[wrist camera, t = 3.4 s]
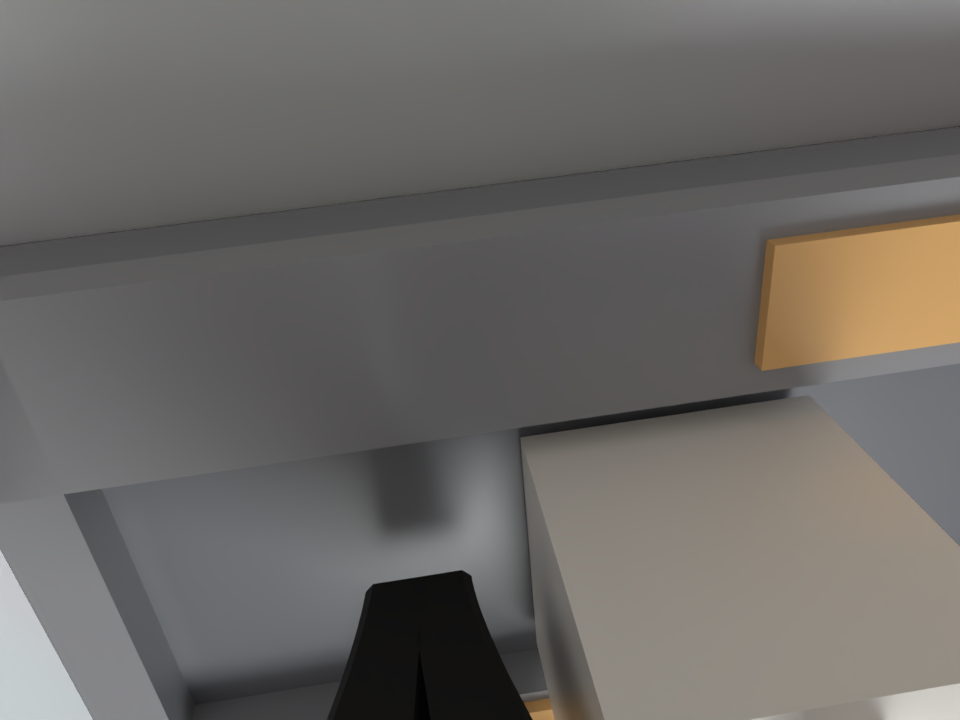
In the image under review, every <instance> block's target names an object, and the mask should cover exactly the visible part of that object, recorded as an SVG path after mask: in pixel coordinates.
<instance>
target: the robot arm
mask: <svg viewBox="0 0 960 720" xmlns="http://www.w3.org/2000/svg"><path fill="white" fill-rule="evenodd" d="M327 720H533V719H532V717H531V716H530V714H529V712H528V710H527V708H526V706H525V704H524V702H523V700H522V699H521V697H520V695H519V693H518V691H517V689H516V687H515V685H514V683H513V682H512V680H511V678H510V676H509V674H508V672H507V670H506V668H505V665H504V663H503V661H502V659H501V657H500V655H499V653H498V650H497V648H496V646H495V644H494V641H493V639H492V637H491V634H490V632H489V630H488V627H487V625H486V622H485V620H484V617H483V614H482V612H481V609H480V606H479V603H478V600H477V596H476V593H475V590H474V586H473V582H472V576H471V575H470V574H468V573H466V572H465V571H463V570H459V571H453V572H446V573H440V574H434V575H427V576H421V577H415V578H408V579H402V580H396V581H389V582H383V583H377V584H373V585H372V586H371V587H370V588H369V589H368V590H367V591H366V593H365V598H364V603H363V608H362V612H361V616H360V620H359V624H358V628H357V631H356V635H355V638H354V642H353V645H352V648H351V652H350V655H349V658H348V661H347V664H346V667H345V670H344V673H343V676H342V679H341V682H340V685H339V688H338V691H337V694H336V696H335V699H334V702H333V704H332V707H331V710H330V712H329V715H328V718H327Z"/></svg>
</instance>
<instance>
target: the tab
mask: <svg viewBox="0 0 960 720" xmlns="http://www.w3.org/2000/svg"><path fill="white" fill-rule="evenodd" d="M520 440H521V452H522V465H523V477H524V490H525V502H526V515H527V527H528V540H529V552H530V565H531V577H532V590H533V602H534V615H535V627H536V640H537V646H538V651H539V655H540V659H541V663H542V668H543V672H544V676H545V681H546V685H547V689H548V694H549V698H550V702H551V707H552V711H553V715H554V719H555V720H960V546H959V545H958V544H957V543H956V542H955V541H954V540H953V539H952V538H951V537H950V536H949V535H948V534H947V533H946V532H945V531H944V530H943V529H942V528H941V527H940V526H939V525H938V524H937V523H936V522H935V521H934V520H933V519H932V518H931V517H930V516H929V515H928V514H927V513H926V512H925V511H924V510H923V509H922V508H921V507H920V506H919V505H918V504H917V503H916V502H915V501H914V500H913V499H912V498H911V497H910V496H909V495H908V494H907V493H906V492H905V491H904V490H903V489H902V488H901V487H900V486H899V485H898V484H897V483H896V482H895V481H894V480H893V479H892V478H891V477H890V476H889V475H888V474H887V473H886V472H885V471H884V470H883V469H882V468H881V467H880V466H879V465H878V464H877V463H876V462H875V461H874V460H873V459H872V458H871V457H870V456H869V455H868V454H867V453H866V452H865V451H864V450H863V449H862V448H861V447H860V446H859V445H858V444H857V443H856V442H855V441H854V440H853V439H852V438H851V437H850V436H849V435H848V434H847V433H846V432H845V431H844V430H843V429H842V428H841V427H840V426H839V425H838V424H837V423H836V422H835V421H834V420H833V419H832V418H831V417H830V416H829V415H828V414H827V413H826V412H825V411H824V410H823V409H822V408H821V407H820V406H819V405H818V404H817V403H816V402H815V401H814V400H813V399H812V398H811V397H810V396H809V395H805V396H799V397H792V398H785V399H778V400H771V401H765V402H758V403H751V404H744V405H737V406H731V407H724V408H717V409H710V410H703V411H697V412H690V413H683V414H676V415H669V416H663V417H656V418H649V419H642V420H635V421H628V422H622V423H615V424H608V425H601V426H594V427H588V428H581V429H574V430H567V431H560V432H554V433H547V434H540V435H533V436H526V437H520Z"/></svg>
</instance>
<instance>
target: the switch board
mask: <svg viewBox="0 0 960 720" xmlns="http://www.w3.org/2000/svg"><path fill="white" fill-rule="evenodd" d="M805 395H809V396H810V397H811V398H812V399H813V400H814V401H815V402H816V403H817V404H818V405H819V406H820V407H821V408H822V409H823V410H824V411H825V412H826V413H827V414H828V415H829V416H830V417H831V418H832V419H833V420H834V421H835V422H836V423H837V424H838V425H839V426H840V427H841V428H842V429H843V430H844V431H845V432H846V433H847V434H848V435H849V436H850V437H851V438H852V439H853V440H854V441H855V442H856V443H857V444H858V445H859V446H860V447H861V448H862V449H863V450H864V451H865V452H866V453H867V454H868V455H869V456H870V457H871V458H872V459H873V460H874V461H875V462H876V463H877V464H878V465H879V466H880V467H881V468H882V469H883V470H884V471H885V472H886V473H887V474H888V475H889V476H890V477H891V478H892V479H893V480H894V481H895V482H896V483H897V484H898V485H899V486H900V487H901V488H902V489H903V490H904V491H905V492H906V493H907V494H908V495H909V496H910V497H911V498H912V499H913V500H914V501H915V502H916V503H917V504H918V505H919V506H920V507H921V508H922V509H923V510H924V511H925V512H926V513H927V514H928V515H929V516H930V517H931V518H932V519H933V520H934V521H935V522H936V523H937V524H938V525H939V526H940V527H941V528H942V529H943V530H944V531H945V532H946V533H947V534H948V535H949V536H950V537H951V538H952V539H953V540H954V541H955V542H956V543H957V544H958V545H959V546H960V127H952V128H944V129H936V130H928V131H920V132H912V133H904V134H896V135H888V136H880V137H872V138H864V139H856V140H848V141H840V142H832V143H824V144H816V145H808V146H800V147H792V148H784V149H776V150H769V151H761V152H753V153H745V154H737V155H729V156H721V157H713V158H705V159H697V160H689V161H681V162H673V163H665V164H657V165H649V166H641V167H633V168H625V169H617V170H609V171H601V172H593V173H585V174H577V175H569V176H561V177H553V178H545V179H537V180H529V181H521V182H513V183H505V184H497V185H489V186H481V187H473V188H465V189H457V190H449V191H441V192H433V193H425V194H417V195H409V196H401V197H393V198H385V199H377V200H369V201H361V202H354V203H346V204H338V205H330V206H322V207H314V208H306V209H298V210H290V211H282V212H274V213H266V214H258V215H250V216H242V217H234V218H226V219H218V220H210V221H202V222H194V223H186V224H178V225H170V226H162V227H154V228H146V229H138V230H130V231H122V232H114V233H106V234H98V235H90V236H82V237H74V238H66V239H58V240H50V241H42V242H34V243H26V244H18V245H10V246H2V247H0V550H1V552H2V553H3V555H4V557H5V559H6V561H7V563H8V564H9V566H10V568H11V570H12V572H13V574H14V575H15V577H16V579H17V581H18V583H19V585H20V586H21V588H22V590H23V592H24V594H25V596H26V597H27V599H28V601H29V603H30V605H31V607H32V608H33V610H34V612H35V614H36V616H37V618H38V619H39V621H40V623H41V625H42V627H43V629H44V630H45V632H46V634H47V636H48V638H49V640H50V641H51V643H52V645H53V647H54V649H55V651H56V652H57V654H58V656H59V658H60V660H61V662H62V663H63V665H64V667H65V669H66V671H67V672H68V674H69V676H70V678H71V680H72V682H73V683H74V685H75V687H76V689H77V691H78V693H79V694H80V696H81V698H82V700H83V702H84V704H85V705H86V707H87V709H88V711H89V713H90V715H91V716H92V718H93V720H327V718H328V715H329V712H330V710H331V707H332V704H333V702H334V699H335V696H336V694H337V691H338V688H339V685H340V682H341V679H342V676H343V673H344V670H345V667H346V664H347V661H348V658H349V655H350V652H351V648H352V645H353V642H354V638H355V635H356V631H357V628H358V624H359V620H360V616H361V612H362V608H363V603H364V598H365V593H366V591H367V590H368V589H369V588H370V587H371V586H372V585H373V584H377V583H383V582H389V581H396V580H402V579H408V578H415V577H421V576H427V575H434V574H440V573H446V572H453V571H459V570H463V571H465V572H466V573H468V574H470V575H471V576H472V582H473V586H474V590H475V593H476V596H477V600H478V603H479V606H480V609H481V612H482V614H483V617H484V620H485V622H486V625H487V627H488V630H489V632H490V634H491V637H492V639H493V641H494V644H495V646H496V648H497V650H498V653H499V655H500V657H501V659H502V661H503V663H504V665H505V668H506V670H507V672H508V674H509V676H510V678H511V680H512V682H513V683H514V685H515V687H516V689H517V691H518V693H519V695H520V697H521V699H522V700H523V702H524V704H525V706H526V708H527V710H528V712H529V714H530V716H531V717H532V719H533V720H555V719H554V715H553V711H552V707H551V702H550V698H549V694H548V689H547V685H546V681H545V676H544V672H543V668H542V663H541V659H540V655H539V651H538V646H537V640H536V627H535V615H534V602H533V590H532V577H531V565H530V552H529V540H528V527H527V515H526V502H525V490H524V477H523V465H522V452H521V440H520V437H526V436H533V435H540V434H547V433H554V432H560V431H567V430H574V429H581V428H588V427H594V426H601V425H608V424H615V423H622V422H628V421H635V420H642V419H649V418H656V417H663V416H669V415H676V414H683V413H690V412H697V411H703V410H710V409H717V408H724V407H731V406H737V405H744V404H751V403H758V402H765V401H771V400H778V399H785V398H792V397H799V396H805Z"/></svg>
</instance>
